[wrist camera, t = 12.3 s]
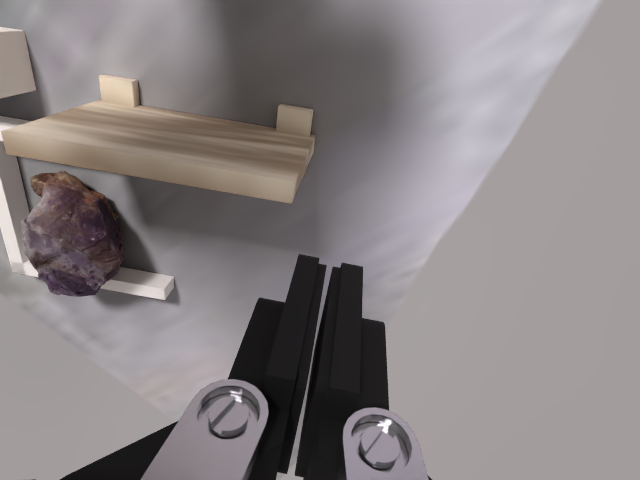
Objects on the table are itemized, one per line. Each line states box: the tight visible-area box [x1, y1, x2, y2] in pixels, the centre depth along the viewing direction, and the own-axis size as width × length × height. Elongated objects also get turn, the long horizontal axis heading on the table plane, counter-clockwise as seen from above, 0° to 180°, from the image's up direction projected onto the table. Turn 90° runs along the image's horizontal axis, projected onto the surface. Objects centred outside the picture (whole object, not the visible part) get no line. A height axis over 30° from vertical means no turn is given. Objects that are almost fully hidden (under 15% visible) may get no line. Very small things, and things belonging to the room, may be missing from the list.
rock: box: [21, 171, 125, 296], centre depth 41 cm, size 12×9×10 cm
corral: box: [0, 116, 174, 300], centre depth 43 cm, size 17×18×2 cm
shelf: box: [1, 75, 316, 204], centre depth 33 cm, size 6×20×12 cm, turn 82°
